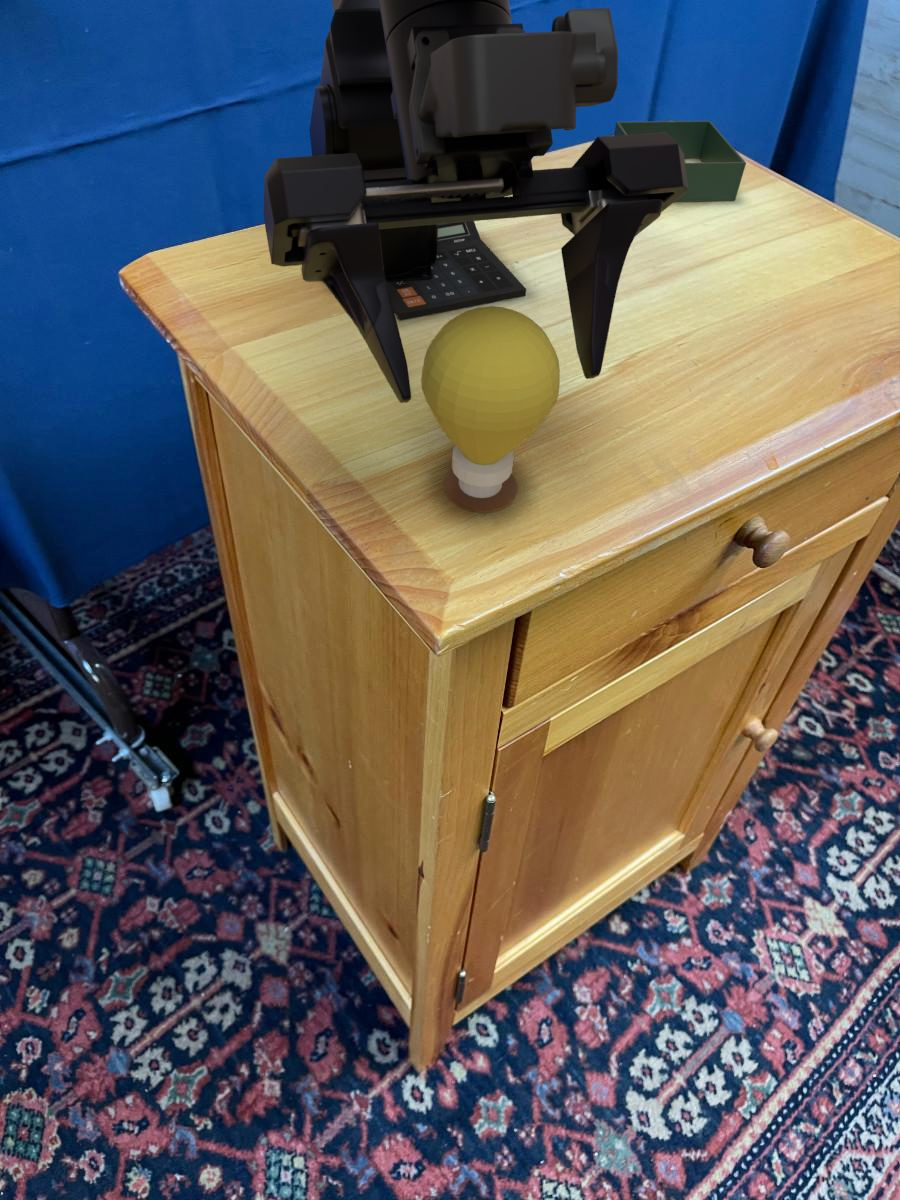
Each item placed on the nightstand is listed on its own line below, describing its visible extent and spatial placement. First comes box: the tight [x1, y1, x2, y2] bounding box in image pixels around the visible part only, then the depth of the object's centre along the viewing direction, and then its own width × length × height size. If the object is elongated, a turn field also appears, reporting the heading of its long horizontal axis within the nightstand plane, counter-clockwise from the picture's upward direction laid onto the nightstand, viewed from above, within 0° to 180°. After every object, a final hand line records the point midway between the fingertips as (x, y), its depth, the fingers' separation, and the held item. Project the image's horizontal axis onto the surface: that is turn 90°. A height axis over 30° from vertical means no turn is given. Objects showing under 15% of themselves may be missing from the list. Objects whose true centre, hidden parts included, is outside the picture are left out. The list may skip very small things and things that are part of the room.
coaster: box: [443, 468, 519, 513], centre depth 47 cm, size 4×4×1 cm
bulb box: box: [613, 120, 747, 203], centre depth 72 cm, size 8×8×3 cm
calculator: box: [387, 221, 527, 321], centre depth 61 cm, size 9×12×3 cm
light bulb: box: [420, 305, 561, 498], centre depth 43 cm, size 7×7×10 cm
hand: (501, 389), depth 40 cm, fingers open, 9 cm apart
